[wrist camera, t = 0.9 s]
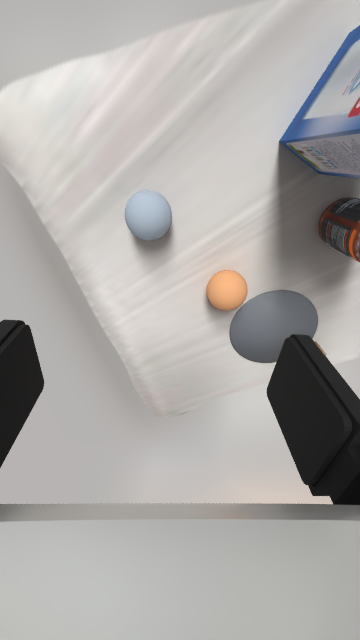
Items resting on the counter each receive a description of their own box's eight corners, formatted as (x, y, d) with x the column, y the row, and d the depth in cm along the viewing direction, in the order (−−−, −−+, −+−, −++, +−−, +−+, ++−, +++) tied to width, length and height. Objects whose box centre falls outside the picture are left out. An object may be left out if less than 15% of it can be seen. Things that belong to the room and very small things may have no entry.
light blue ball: (148, 177, 31) (142, 180, 26) (181, 211, 33) (181, 219, 28) (120, 212, 33) (110, 221, 28) (153, 242, 35) (149, 255, 30)
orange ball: (225, 256, 36) (232, 271, 31) (250, 281, 38) (260, 299, 33) (197, 282, 38) (199, 300, 34) (222, 305, 40) (227, 325, 36)
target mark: (284, 271, 37) (284, 272, 37) (333, 328, 42) (334, 328, 42) (212, 330, 43) (212, 331, 42) (263, 374, 48) (264, 374, 48)
